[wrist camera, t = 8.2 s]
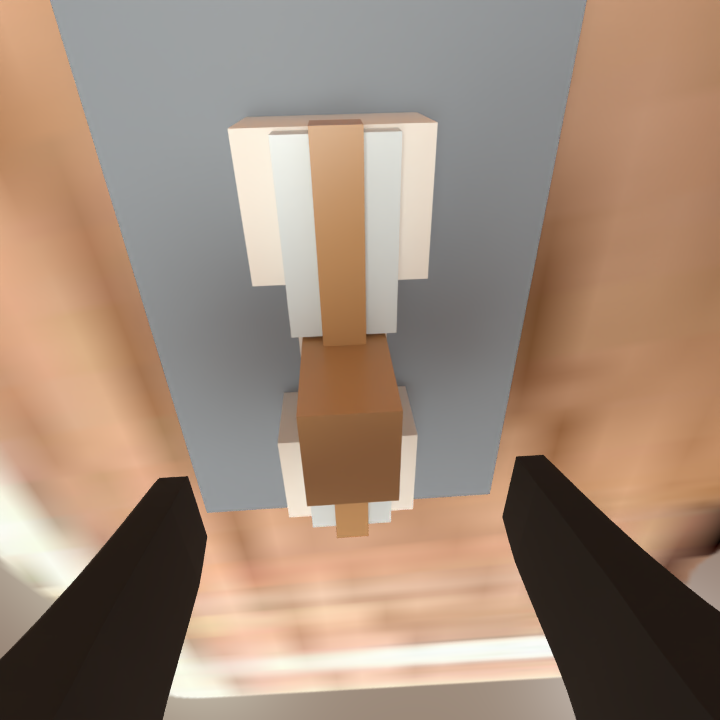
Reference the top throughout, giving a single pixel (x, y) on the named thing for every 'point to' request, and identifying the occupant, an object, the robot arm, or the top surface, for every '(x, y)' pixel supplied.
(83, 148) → the top surface
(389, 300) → the brown and white bar
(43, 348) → the top surface
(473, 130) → the display stand
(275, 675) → the top surface
